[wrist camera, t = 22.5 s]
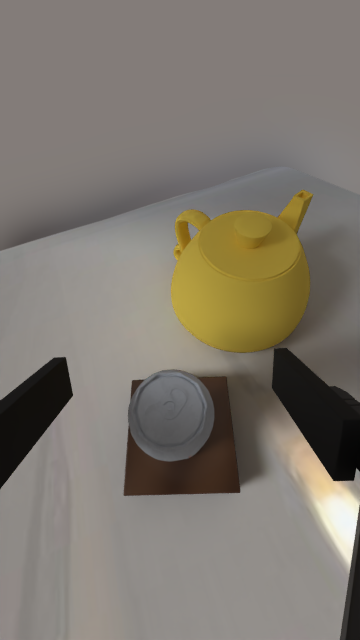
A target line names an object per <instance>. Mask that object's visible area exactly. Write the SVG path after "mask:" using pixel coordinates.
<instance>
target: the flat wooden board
mask: <svg viewBox="0 0 360 640" xmlns="http://www.w3.org/2000/svg"><path fill="white" fill-rule="evenodd" d="M198 379H199V380H200V381H201V382H202V383H203V384H204V386H205V387H206V388H207V390H208V391H209V393H210V396H211V398H212V401H213V405H214V423H213V428H212V431H211V433H210V436H209V438H208V439H207V441H206V442H205V444H204V445H203V446H202V447H201V448H200V450H199V451H198V452H197V453H196V454H195V455H193V456H192V457H190V458H187V459H183V460H177V461H170V462H169V461H163V460H158V459H155V458H153V457H151V456H150V455H148V454H146V453H145V452H144V451H143V450H142V449H141V448H140V447H139V446H138V445H137V444H136V442H135V440H134V438H133V437H132V434H131V431H130V427H129V429H128V442H127V456H126V469H125V483H124V496H133V495H172V494H210V493H240V484H239V476H238V468H237V460H236V452H235V444H234V436H233V428H232V420H231V412H230V404H229V396H228V387H227V379H226V377H203V378H198ZM143 381H144V380H132V388H131V398H132V396H133V395H134V393H135V391H136V389H137V388H138V387H139V385H140V384H141V383H142V382H143ZM130 402H131V401H130Z"/></svg>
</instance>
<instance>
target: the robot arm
mask: <svg viewBox="0 0 360 640" xmlns="http://www.w3.org/2000/svg"><path fill="white" fill-rule="evenodd" d="M272 389H273V390H274V392H275V393H276V395H277V396H278V398H279V399H280V401H281V402H282V404H283V405H284V407H285V408H286V410H287V411H288V413H289V414H290V416H291V417H292V419H293V420H294V422H295V423H296V425H297V426H298V428H299V429H300V431H301V433H302V434H303V436H304V437H305V439H306V440H307V442H308V443H309V445H310V446H311V448H312V449H313V451H314V452H315V454H316V455H317V457H318V458H319V460H320V461H321V463H322V464H323V466H324V467H325V469H326V470H327V472H328V473H329V475H330V476H331V478H332V479H333V481H354V478H355V472H356V468H357V469H358V470H359V471H360V403H359V402H358V401H357V400H355V398H353V397H352V396H351V395H350V394H349V393H347V392H346V391H344V390H342V389H340V388H338V387H336V386H328V385H327V384H326V383H325V382H324V381H322V380H321V379H320V378H319V377H318V376H317V375H316V374H315V373H314V372H313V371H311V370H310V369H309V368H308V367H307V366H306V365H305V364H304V363H303V362H302V361H300V360H299V359H298V358H297V357H296V356H295V355H294V354H293V353H292V352H290V351H289V350H288V349H287V348H277V349H274V362H273V379H272ZM72 396H73V393H72V387H71V382H70V377H69V372H68V366H67V361H66V357H60V358H53V359H52V360H50V361H49V362H48V363H47V364H45V365H44V366H43V367H42V368H40V369H39V370H38V371H37V372H35V373H34V374H33V375H32V376H30V377H29V378H28V379H27V380H25V381H24V382H23V383H22V384H20V385H19V386H18V387H17V388H15V389H14V390H13V391H12V392H10V393H9V394H8V395H7V396H5V397H4V398H3V399H2V400H0V489H1V487H2V486H3V485H4V483H5V482H6V481H7V480H8V478H9V477H10V476H11V474H12V473H13V472H14V471H15V469H16V468H17V467H18V465H19V464H20V463H21V462H22V460H23V459H24V458H25V456H26V455H27V454H28V453H29V451H30V450H31V449H32V447H33V446H34V445H35V444H36V442H37V441H38V440H39V439H40V437H41V436H42V435H43V433H44V432H45V431H46V430H47V428H48V427H49V426H50V424H51V423H52V422H53V421H54V419H55V418H56V417H57V415H58V414H59V413H60V412H61V410H62V409H63V408H64V406H65V405H66V404H67V403H68V401H69V400H70V399H71V397H72ZM340 640H360V507H359V513H358V520H357V527H356V534H355V541H354V547H353V554H352V561H351V568H350V575H349V581H348V588H347V595H346V602H345V608H344V615H343V622H342V629H341V636H340Z"/></svg>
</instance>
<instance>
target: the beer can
mask: <svg viewBox="0 0 360 640" xmlns="http://www.w3.org/2000/svg"><path fill="white" fill-rule="evenodd" d="M128 422H129V427H130V431H131V434H132V437H133V438H134V440H135V442H136V444H137V445H138V446H139V447H140V448H141V449H142V450H143V451H144V452H145V453H146V454H148V455H150V456H151V457H153V458H155V459H158V460H163V461H169V462H170V461H177V460H183V459H187V458H190V457H192V456H193V455H195V454H196V453H197V452H198V451H199V450H200V448H201V447H202V446H203V445H204V444H205V442H206V441H207V439H208V438H209V436H210V433H211V431H212V428H213V423H214V405H213V401H212V398H211V396H210V393H209V391H208V390H207V388H206V387H205V386H204V384H203V383H202V382H201V381H200V380H199V379H198V378H196V377H195V376H194V375H192V374H189V373H187V372H185V371H181V370H163V371H160V372H157V373H155V374H153V375H151V376H149V377H148V378H147V379H145V380H144V381H143V382H142V383H141V384H140V385H139V387H138V388H137V389H136V391H135V393H134V395H133V396H132V398H131V402H130V405H129V410H128Z"/></svg>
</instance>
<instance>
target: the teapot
mask: <svg viewBox="0 0 360 640" xmlns="http://www.w3.org/2000/svg"><path fill="white" fill-rule="evenodd" d="M312 197H313V194H311V193H309V192H307V191H305V190H301V191H300V192H298V193H297V194H296V195H294V196H293V199H292V200H291V201H290V202H289V204H288V205H287V206H286V207H285V209H284V210H283V211H282V213H281V214H280V215H279V216H278V218H277V217H274V216H272V215H270V214H267V213H263V212H259V211H252V210H240V211H233V212H228V213H225V214H222V215H220V216H218V217H216V218H214V219H213V220H210V218H209V217H208V216H207V215H205V214H204V213H203V212H201V211H198V210H193V209H192V210H187V211H184V212H183V213H181V214H180V215H179V216H178V217H177V219H176V222H175V232H176V237H177V240H178V244H177V245H176V247H175V248H174V256H175V258H176V259H177V261H178V262H177V264H176V266H175V270H174V274H173V278H172V284H171V297H172V304H173V308H174V311H175V313H176V315H177V317H178V319H179V321H180V322H181V323H182V325H183V326H184V327H185V328H186V329H187V330H188V331H189V332H190V333H191V334H192V335H193V336H195V337H196V338H197V339H199V340H200V341H202V342H204V343H205V344H207V345H209V346H212V347H214V348H217V349H220V350H224V351H229V352H238V353H246V352H255V351H260V350H264V349H267V348H270V347H272V346H274V345H276V344H278V343H280V342H281V341H283V340H284V339H285V338H287V337H288V336H289V335H290V334H291V333H292V332H293V331H294V329H295V328H296V326H297V325H298V323H299V322H300V320H301V319H302V316H303V314H304V312H305V309H306V306H307V302H308V298H309V294H310V273H309V267H308V263H307V260H306V256H305V253H304V250H303V247H302V245H301V242H300V240H299V238H298V236H297V235H296V234H297V232H298V229H299V227H300V225H301V222H302V220H303V218H304V215H305V213H306V211H307V208H308V206H309V204H310V201H311V199H312ZM188 223H190V224H192V225H193V226H195V227H196V228H197V229H198V230H199V232H198V233H197V234H196V235H195V236H194V238H193V239H192V240H191V238H190V234H189V230H188Z"/></svg>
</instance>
